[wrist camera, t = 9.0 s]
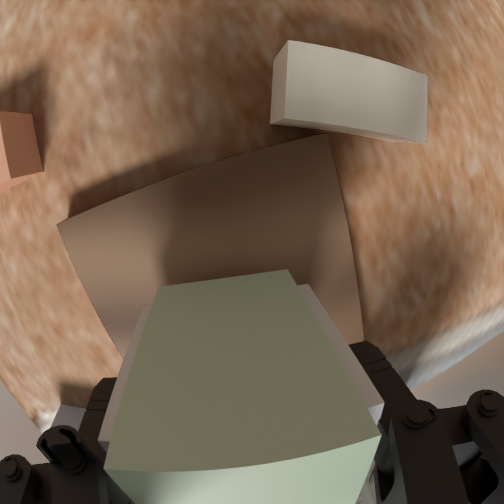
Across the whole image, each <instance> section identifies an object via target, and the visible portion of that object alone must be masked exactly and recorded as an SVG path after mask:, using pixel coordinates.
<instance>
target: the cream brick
mask: <svg viewBox="0 0 504 504" xmlns="http://www.w3.org/2000/svg"><path fill="white" fill-rule="evenodd" d="M427 101H428V80H427V75H424V74H422V73H419V72H416V71H413V70H410V69H408V68H405V67H402V66H399V65H396V64H392V63H389V62H386V61H383V60H379V59H376V58H372V57H369V56H365V55H361V54H357V53H353V52H349V51H345V50H341V49H336V48H331V47H327V46H322V45H316V44H311V43H305V42H299V41H292V40H288V41H287V42H286V44H285V45H284V46H283V48H282V49H281V51H280V52H279V53H278V55H277V56H276V57H275V59H274V61H273V79H272V97H271V114H270V124H272V125H283V126H293V127H302V128H311V129H319V130H326V131H333V132H340V133H346V134H353V135H359V136H364V137H370V138H375V139H381V140H386V141H391V142H412V143H426V130H427Z"/></svg>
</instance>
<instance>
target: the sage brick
mask: <svg viewBox="0 0 504 504" xmlns="http://www.w3.org/2000/svg"><path fill="white" fill-rule="evenodd" d="M380 438H381V433H380V431H379V429H378V427H377V425H376V424H375V422H374V420H373V418H372V416H371V414H370V413H369V411H368V409H367V407H366V405H365V404H364V402H363V400H362V398H361V396H360V395H359V393H358V391H357V389H356V387H355V386H354V384H353V382H352V380H351V378H350V377H349V375H348V373H347V371H346V370H345V368H344V366H343V364H342V362H341V361H340V359H339V357H338V355H337V354H336V352H335V350H334V348H333V347H332V345H331V343H330V341H329V340H328V338H327V336H326V334H325V333H324V331H323V329H322V327H321V326H320V324H319V322H318V320H317V319H316V317H315V315H314V314H313V312H312V310H311V308H310V307H309V305H308V303H307V301H306V300H305V298H304V296H303V295H302V293H301V291H300V290H299V288H298V286H297V284H296V283H295V281H294V279H293V278H292V276H291V274H290V272H289V271H288V269H285V270H278V271H271V272H264V273H257V274H250V275H243V276H236V277H228V278H221V279H214V280H206V281H199V282H191V283H184V284H176V285H168V286H160V287H158V289H157V292H156V295H155V298H154V300H153V303H152V306H151V309H150V312H149V314H148V317H147V320H146V323H145V326H144V329H143V332H142V335H141V338H140V341H139V344H138V347H137V350H136V353H135V356H134V359H133V362H132V366H131V369H130V372H129V375H128V379H127V382H126V385H125V389H124V392H123V395H122V399H121V402H120V406H119V409H118V413H117V417H116V420H115V424H114V428H113V432H112V435H111V439H110V443H109V447H108V451H107V456H106V460H105V464H104V468H103V469H104V470H105V471H106V472H107V474H108V475H109V476H110V477H111V478H112V479H113V480H114V482H115V483H116V484H117V485H118V486H119V487H120V488H121V489H122V490H123V491H124V493H125V494H126V495H127V496H128V497H129V498H130V499H131V500H132V501H133V502H134V503H135V504H355V503H356V501H357V498H358V496H359V494H360V491H361V489H362V487H363V484H364V482H365V479H366V477H367V474H368V472H369V469H370V466H371V464H372V461H373V458H374V456H375V453H376V450H377V447H378V444H379V441H380Z"/></svg>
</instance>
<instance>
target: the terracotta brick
mask: <svg viewBox="0 0 504 504" xmlns="http://www.w3.org/2000/svg"><path fill="white" fill-rule="evenodd" d="M42 172H44V171H43V167H42V162H41V158H40V153H39V149H38V144H37V139H36V133H35V128H34V122H33V116H32V114H27V113H18V112H7V111H0V193H2V192H3V191H5V190H7V189H9V188H11V187H13V186H15V185H17V184H19V183H21V182H23V181H25V180H27V179H29V178H31V177H33V176H35V175H37V174H40V173H42Z"/></svg>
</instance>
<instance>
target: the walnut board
mask: <svg viewBox="0 0 504 504" xmlns="http://www.w3.org/2000/svg"><path fill="white" fill-rule="evenodd" d="M57 228H58V230H59V233H60V235H61V238H62V240H63V243H64V245H65V247H66V250H67V252H68V254H69V257H70V259H71V261H72V264H73V266H74V268H75V270H76V272H77V275H78V277H79V279H80V281H81V283H82V285H83V287H84V289H85V291H86V293H87V295H88V297H89V299H90V301H91V303H92V305H93V307H94V309H95V311H96V313H97V315H98V317H99V318H100V320H101V322H102V324H103V326H104V327H105V329H106V331H107V333H108V335H109V336H110V338H111V340H112V342H113V343H114V345H115V347H116V348H117V350H118V352H119V353H120V355H121V357H122V358H123V359H124V357H125V354H126V351H127V348H128V346H129V343H130V340H131V337H132V335H133V332H134V329H135V327H136V324H137V322H138V319H139V316H140V314H141V311H142V309H143V307H148V306H152V303H153V300H154V298H155V295H156V292H157V289H158V287H160V286H168V285H176V284H184V283H191V282H199V281H206V280H214V279H221V278H228V277H236V276H243V275H250V274H257V273H264V272H271V271H278V270H285V269H288V271H289V272H290V274H291V276H292V278H293V279H294V281H295V283H296V284H297V286H298V285H304V284H308V285H309V286H310V288H311V289H312V291H313V292H314V294H315V295H316V297H317V298H318V300H319V301H320V303H321V304H322V306H323V307H324V309H325V310H326V312H327V313H328V315H329V316H330V318H331V319H332V321H333V322H334V324H335V325H336V327H337V329H338V330H339V332H340V333H341V335H342V336H343V338H344V339H345V341H346V342H347V344H348V345H350V344H354V343H358V342H362V341H364V334H363V325H362V316H361V308H360V300H359V292H358V285H357V278H356V271H355V265H354V258H353V252H352V246H351V240H350V235H349V229H348V224H347V219H346V214H345V209H344V204H343V199H342V194H341V189H340V185H339V180H338V176H337V171H336V167H335V163H334V159H333V155H332V150H331V146H330V142H329V139H328V135H327V133H322V134H315V135H311V136H307V137H303V138H299V139H295V140H291V141H287V142H283V143H279V144H275V145H271V146H268V147H264V148H260V149H257V150H253V151H250V152H246V153H243V154H239V155H236V156H233V157H229V158H226V159H223V160H220V161H216V162H213V163H210V164H207V165H204V166H201V167H198V168H195V169H192V170H189V171H186V172H183V173H180V174H177V175H174V176H171V177H169V178H166V179H163V180H160V181H158V182H155V183H152V184H149V185H147V186H144V187H141V188H139V189H136V190H134V191H131V192H129V193H126V194H123V195H121V196H118V197H116V198H113V199H111V200H109V201H106V202H104V203H101V204H99V205H97V206H94V207H92V208H90V209H87V210H85V211H83V212H80V213H78V214H76V215H74V216H72V217H69V218H67V219H65V220H64V221H62V222H60V223H58V224H57Z"/></svg>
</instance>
